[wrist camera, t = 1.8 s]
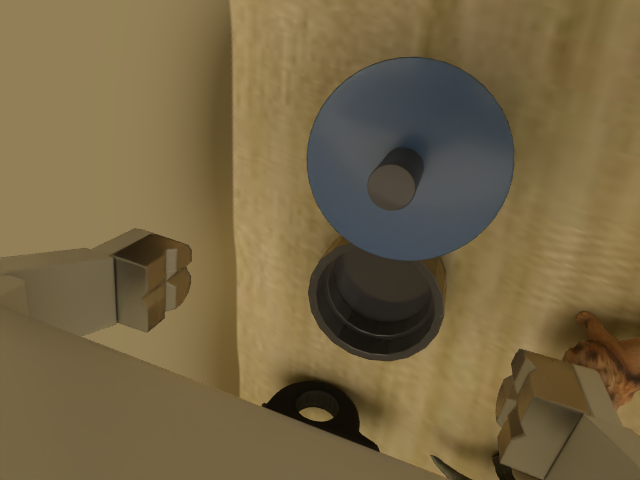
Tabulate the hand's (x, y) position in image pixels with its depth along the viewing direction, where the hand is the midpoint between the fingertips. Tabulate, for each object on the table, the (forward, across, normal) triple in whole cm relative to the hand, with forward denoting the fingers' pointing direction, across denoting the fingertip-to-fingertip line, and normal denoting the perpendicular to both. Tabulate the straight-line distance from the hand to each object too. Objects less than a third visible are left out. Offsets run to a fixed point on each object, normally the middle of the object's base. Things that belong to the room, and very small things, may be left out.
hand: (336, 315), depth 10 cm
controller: (+26, +2, +28) cm, 39 cm away
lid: (+17, +1, 0) cm, 17 cm away
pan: (+26, 0, +12) cm, 29 cm away
